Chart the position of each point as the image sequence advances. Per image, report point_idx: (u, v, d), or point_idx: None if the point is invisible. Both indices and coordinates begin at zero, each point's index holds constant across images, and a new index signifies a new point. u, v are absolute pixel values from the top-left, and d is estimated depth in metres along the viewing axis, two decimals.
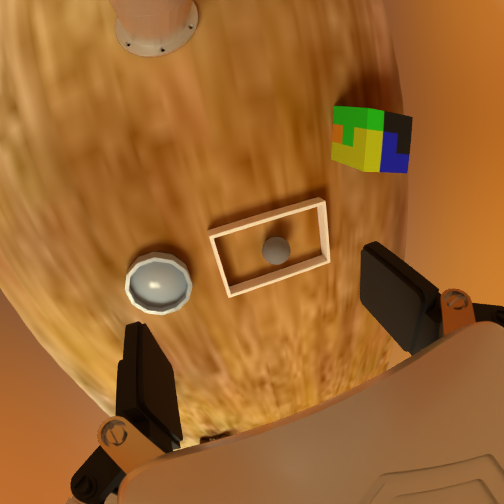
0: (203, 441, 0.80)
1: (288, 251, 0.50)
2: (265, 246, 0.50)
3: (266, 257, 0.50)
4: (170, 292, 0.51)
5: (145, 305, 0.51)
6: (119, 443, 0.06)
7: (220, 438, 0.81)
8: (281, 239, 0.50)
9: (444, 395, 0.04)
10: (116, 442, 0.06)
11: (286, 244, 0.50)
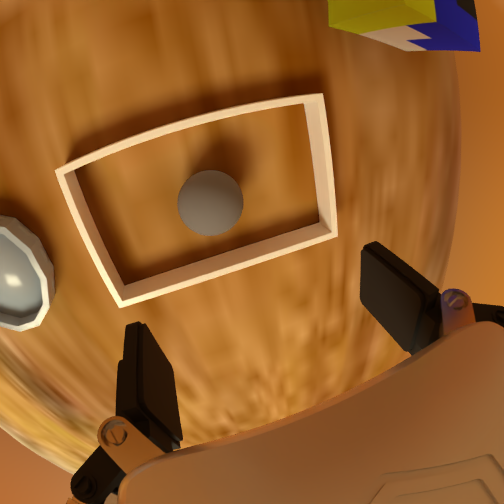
0: None
1: (235, 201, 0.20)
2: (181, 192, 0.20)
3: (183, 217, 0.20)
4: (25, 292, 0.21)
5: None
6: (119, 443, 0.06)
7: None
8: (219, 173, 0.20)
9: (444, 395, 0.04)
10: (116, 442, 0.06)
11: (229, 185, 0.20)
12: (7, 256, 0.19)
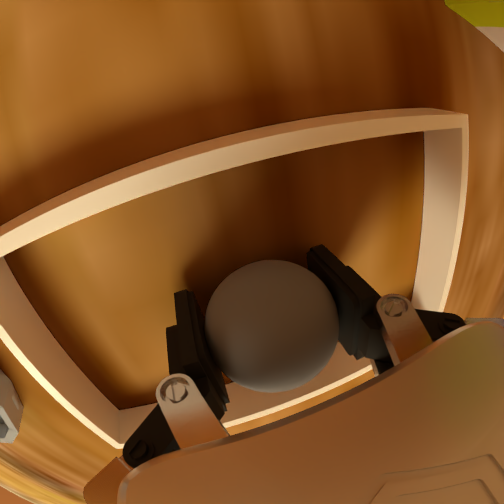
0: None
1: (333, 340, 0.09)
2: (213, 318, 0.09)
3: (220, 367, 0.09)
4: None
5: None
6: (176, 401, 0.07)
7: None
8: (299, 278, 0.09)
9: (444, 395, 0.04)
10: (173, 399, 0.07)
11: (324, 309, 0.09)
12: None
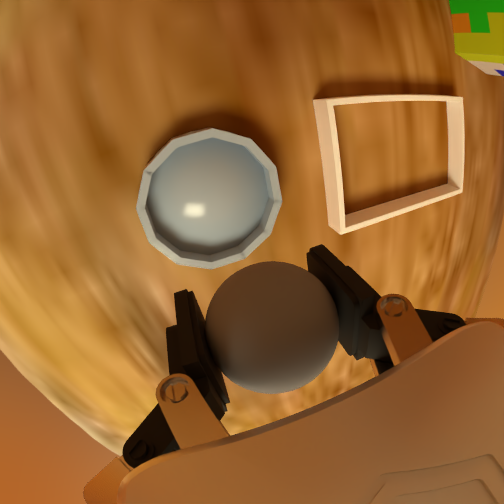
0: None
1: (333, 341, 0.09)
2: (214, 320, 0.09)
3: (221, 368, 0.09)
4: (232, 220, 0.26)
5: (176, 249, 0.25)
6: (176, 401, 0.07)
7: None
8: (299, 280, 0.09)
9: (444, 395, 0.04)
10: (174, 399, 0.07)
11: (325, 311, 0.09)
12: (225, 176, 0.24)
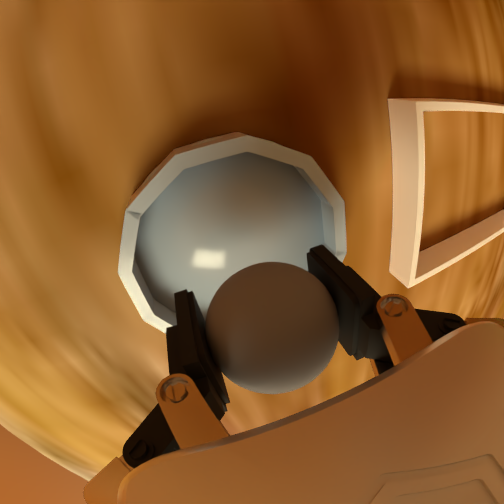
0: None
1: (333, 342, 0.09)
2: (214, 320, 0.09)
3: (221, 369, 0.09)
4: None
5: None
6: (176, 401, 0.07)
7: None
8: (299, 281, 0.09)
9: (444, 395, 0.04)
10: (174, 399, 0.07)
11: (325, 311, 0.09)
12: (262, 214, 0.15)
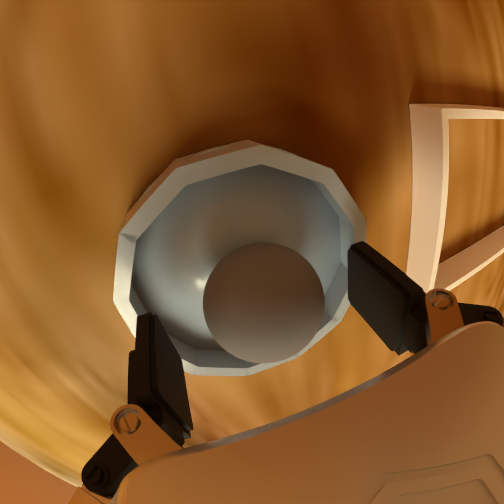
0: None
1: (320, 310, 0.10)
2: (212, 294, 0.10)
3: (219, 340, 0.11)
4: None
5: (189, 349, 0.15)
6: (131, 431, 0.06)
7: None
8: (287, 256, 0.10)
9: (444, 395, 0.04)
10: (129, 430, 0.06)
11: (310, 282, 0.10)
12: (275, 233, 0.13)
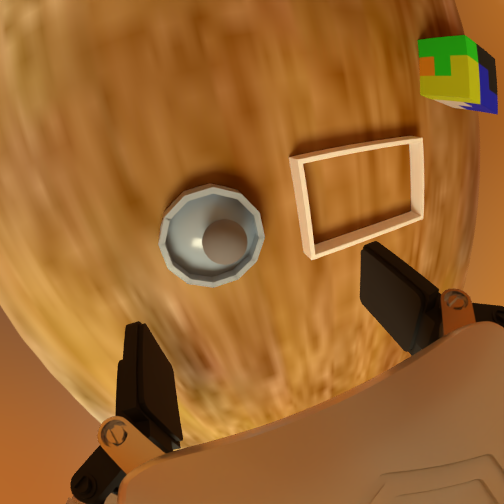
0: None
1: (246, 237, 0.31)
2: (209, 237, 0.30)
3: (214, 254, 0.30)
4: None
5: (187, 272, 0.34)
6: (119, 443, 0.06)
7: None
8: (230, 220, 0.31)
9: (444, 395, 0.04)
10: (116, 442, 0.06)
11: (240, 227, 0.31)
12: None
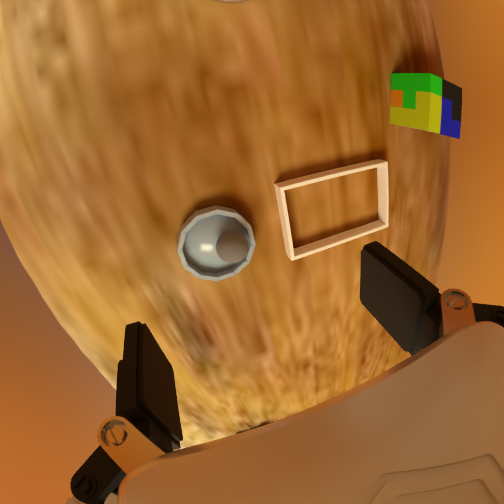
0: None
1: None
2: (226, 244, 0.41)
3: (232, 256, 0.42)
4: None
5: (197, 270, 0.46)
6: (119, 443, 0.06)
7: None
8: None
9: (444, 395, 0.04)
10: (116, 442, 0.06)
11: None
12: (224, 231, 0.45)
